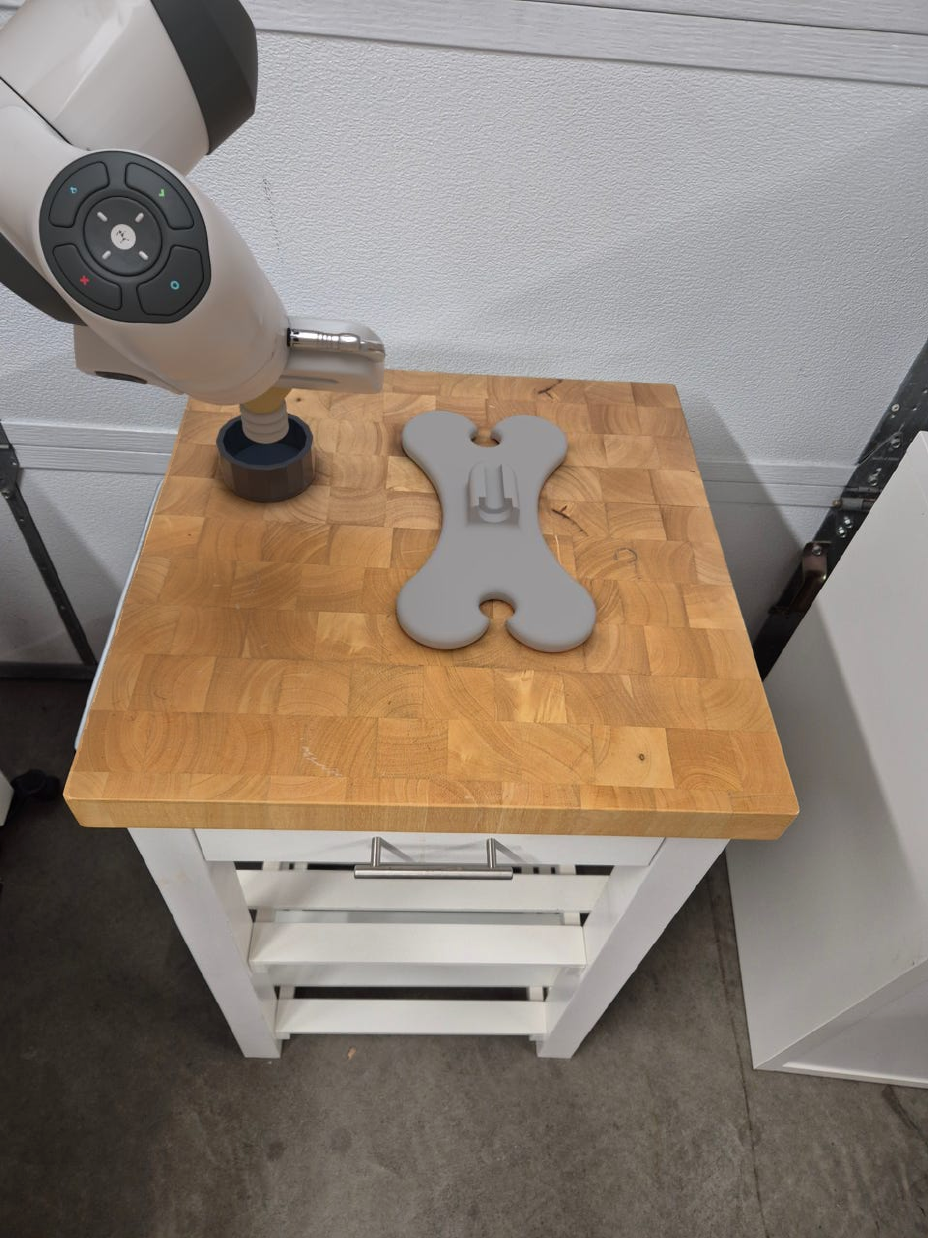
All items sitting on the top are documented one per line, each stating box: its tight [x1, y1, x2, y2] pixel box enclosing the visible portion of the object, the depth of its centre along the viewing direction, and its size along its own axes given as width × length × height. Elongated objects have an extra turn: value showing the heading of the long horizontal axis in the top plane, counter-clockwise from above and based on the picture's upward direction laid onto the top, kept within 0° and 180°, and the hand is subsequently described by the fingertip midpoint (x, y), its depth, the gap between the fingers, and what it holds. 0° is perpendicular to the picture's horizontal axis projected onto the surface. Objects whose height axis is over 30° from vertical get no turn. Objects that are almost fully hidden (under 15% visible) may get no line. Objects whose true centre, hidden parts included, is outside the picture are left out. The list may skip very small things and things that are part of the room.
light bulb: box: [238, 387, 293, 444], centre depth 64 cm, size 6×6×10 cm
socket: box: [215, 412, 316, 503], centre depth 87 cm, size 10×10×4 cm
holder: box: [395, 410, 597, 653], centre depth 84 cm, size 19×34×5 cm, turn 2°
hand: (260, 373), depth 64 cm, fingers closed on light bulb, 6 cm apart
